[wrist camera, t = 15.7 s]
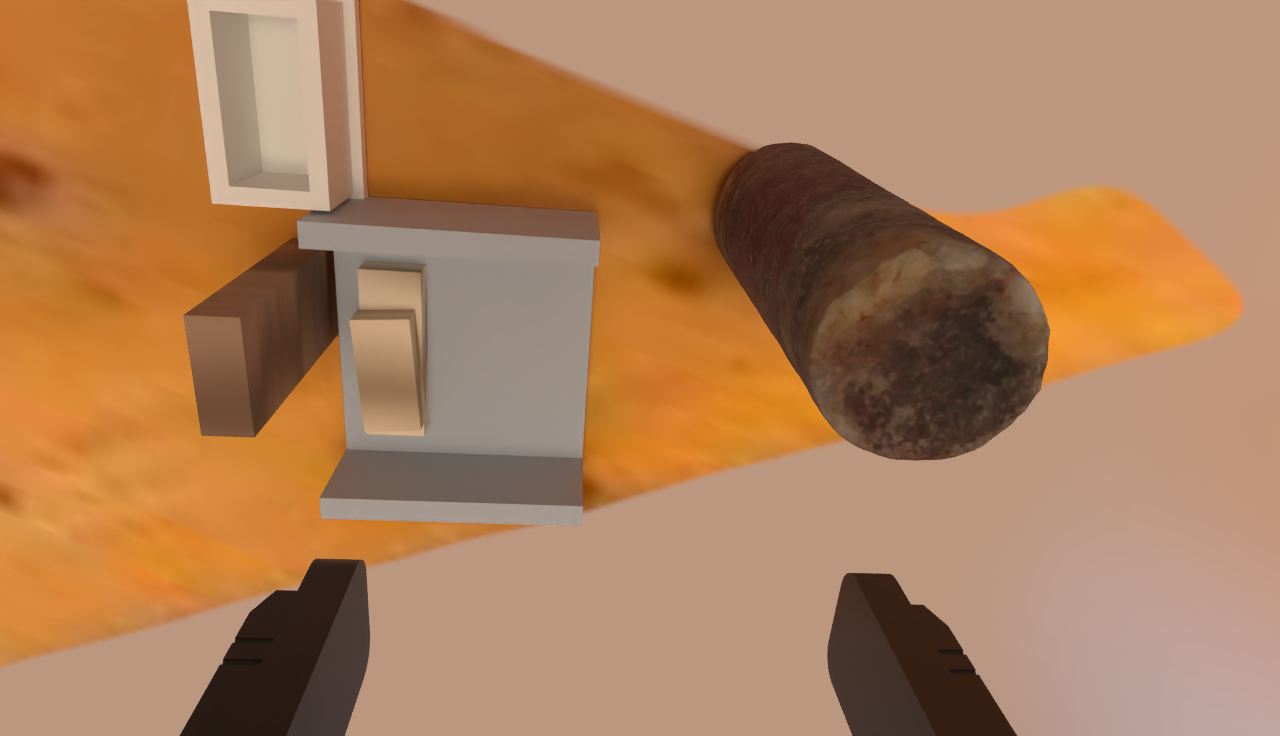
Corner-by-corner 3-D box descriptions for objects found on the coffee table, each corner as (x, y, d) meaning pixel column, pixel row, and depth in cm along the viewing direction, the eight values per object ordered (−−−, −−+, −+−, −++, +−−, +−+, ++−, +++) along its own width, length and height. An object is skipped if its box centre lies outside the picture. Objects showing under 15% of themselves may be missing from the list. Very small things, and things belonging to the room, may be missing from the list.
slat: (291, 238, 40) (183, 315, 29) (332, 241, 40) (239, 317, 29) (300, 331, 42) (201, 435, 31) (339, 332, 42) (254, 437, 31)
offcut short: (357, 309, 39) (349, 320, 38) (415, 309, 39) (409, 319, 38) (371, 418, 41) (364, 432, 40) (425, 417, 42) (420, 430, 40)
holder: (220, -21, 36) (170, -29, 31) (358, -8, 36) (328, -14, 32) (243, 193, 39) (201, 214, 35) (368, 202, 40) (342, 223, 35)
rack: (337, 194, 40) (296, 221, 34) (596, 212, 41) (600, 240, 35) (353, 457, 45) (321, 518, 40) (581, 465, 47) (581, 526, 41)
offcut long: (364, 260, 40) (357, 268, 38) (425, 264, 40) (420, 272, 39) (373, 421, 43) (366, 434, 42) (429, 423, 43) (424, 436, 42)
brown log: (809, 302, 44) (979, 497, 25) (687, 259, 42) (772, 432, 24) (872, 169, 41) (1112, 278, 23) (743, 118, 40) (888, 190, 21)
